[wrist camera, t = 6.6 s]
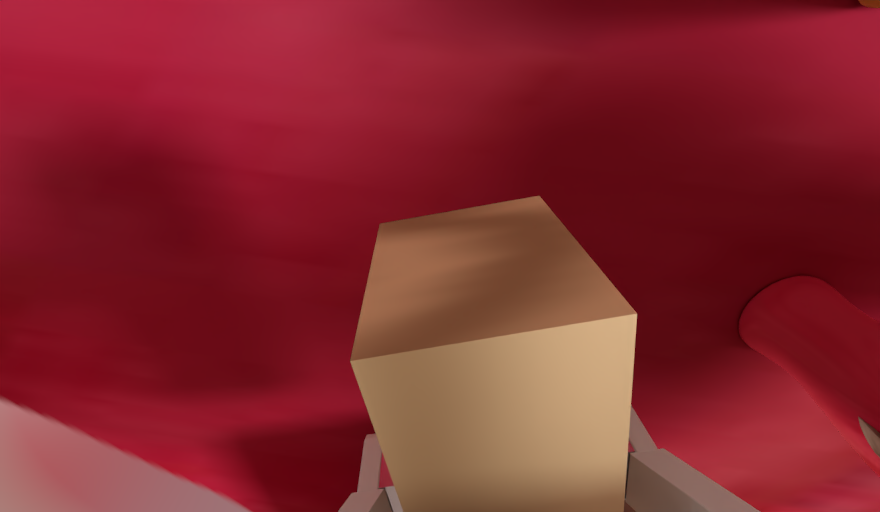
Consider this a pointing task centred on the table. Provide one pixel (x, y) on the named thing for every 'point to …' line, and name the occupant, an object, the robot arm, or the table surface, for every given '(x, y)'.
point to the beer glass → (823, 354)
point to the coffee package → (870, 3)
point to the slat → (496, 363)
